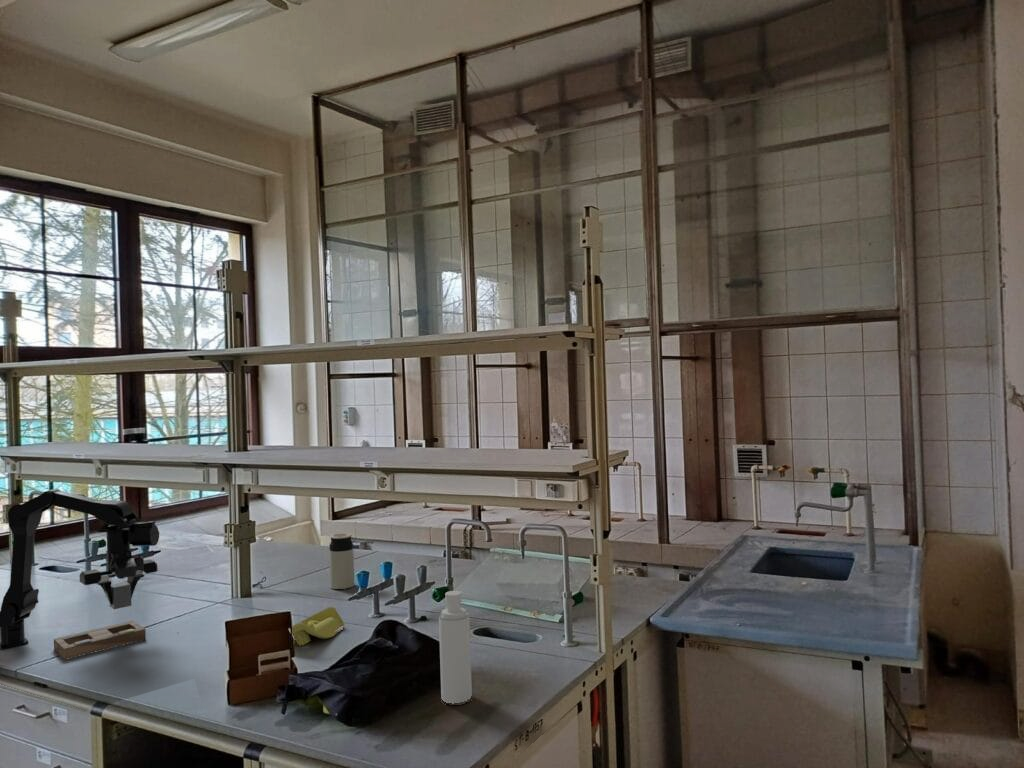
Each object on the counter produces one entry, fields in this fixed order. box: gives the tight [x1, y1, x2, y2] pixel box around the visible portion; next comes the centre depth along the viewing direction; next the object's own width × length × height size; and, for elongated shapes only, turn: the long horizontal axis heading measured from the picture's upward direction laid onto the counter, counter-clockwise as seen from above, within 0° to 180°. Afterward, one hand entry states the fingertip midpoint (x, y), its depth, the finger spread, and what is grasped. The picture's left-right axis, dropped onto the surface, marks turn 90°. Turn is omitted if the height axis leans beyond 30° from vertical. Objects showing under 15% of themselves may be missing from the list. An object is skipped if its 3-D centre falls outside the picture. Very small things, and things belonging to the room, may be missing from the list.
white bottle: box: [438, 590, 473, 704], centre depth 161 cm, size 7×7×25 cm
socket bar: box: [53, 620, 147, 660], centre depth 203 cm, size 11×20×3 cm, turn 134°
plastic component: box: [291, 606, 345, 646], centre depth 203 cm, size 20×7×10 cm
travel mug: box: [329, 532, 355, 590], centre depth 253 cm, size 8×8×18 cm
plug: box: [109, 581, 132, 610], centre depth 207 cm, size 4×4×6 cm
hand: (120, 602), depth 207 cm, fingers closed on plug, 4 cm apart
